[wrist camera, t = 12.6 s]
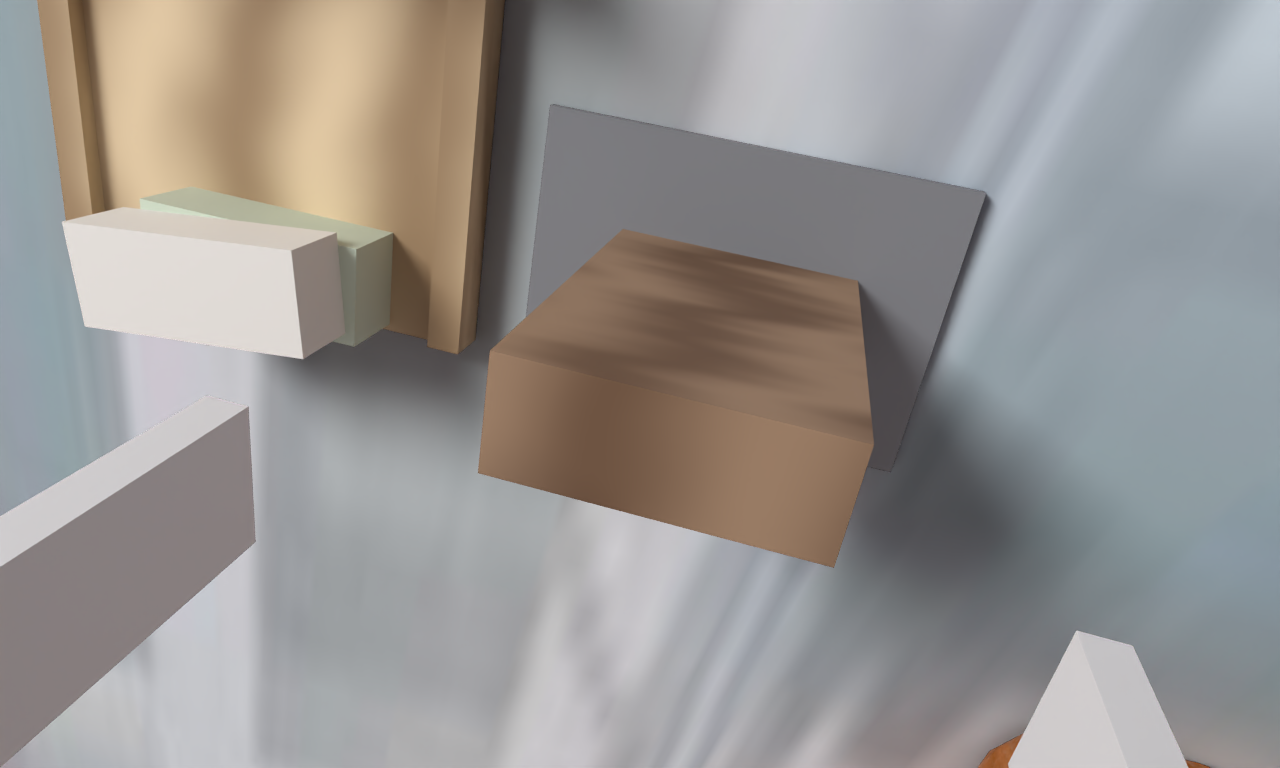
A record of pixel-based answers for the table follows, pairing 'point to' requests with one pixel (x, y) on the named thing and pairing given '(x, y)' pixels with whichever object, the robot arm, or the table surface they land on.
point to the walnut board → (690, 395)
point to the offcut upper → (208, 280)
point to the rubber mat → (765, 230)
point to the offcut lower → (358, 246)
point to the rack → (294, 122)
